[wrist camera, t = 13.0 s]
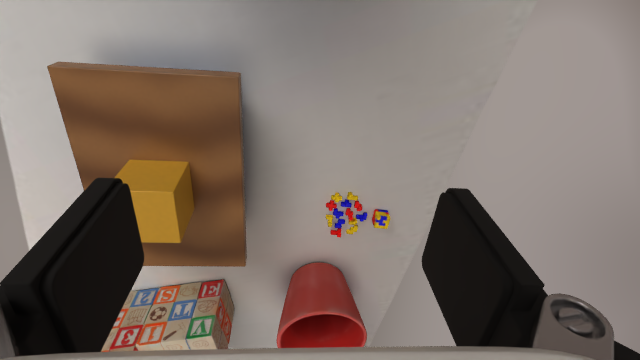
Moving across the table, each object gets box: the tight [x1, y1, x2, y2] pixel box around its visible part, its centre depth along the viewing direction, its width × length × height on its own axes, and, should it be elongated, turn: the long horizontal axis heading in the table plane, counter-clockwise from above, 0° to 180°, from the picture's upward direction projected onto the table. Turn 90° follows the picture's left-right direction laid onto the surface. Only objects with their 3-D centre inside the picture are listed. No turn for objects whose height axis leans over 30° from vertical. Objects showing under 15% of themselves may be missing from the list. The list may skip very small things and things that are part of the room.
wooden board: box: [48, 62, 247, 266], centre depth 33 cm, size 20×14×2 cm
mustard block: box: [115, 160, 194, 243], centre depth 30 cm, size 5×5×5 cm
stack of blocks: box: [101, 280, 234, 352], centre depth 47 cm, size 21×6×12 cm, turn 97°
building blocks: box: [326, 192, 390, 237], centre depth 46 cm, size 6×8×2 cm
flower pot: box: [277, 262, 367, 348], centre depth 48 cm, size 11×11×10 cm
